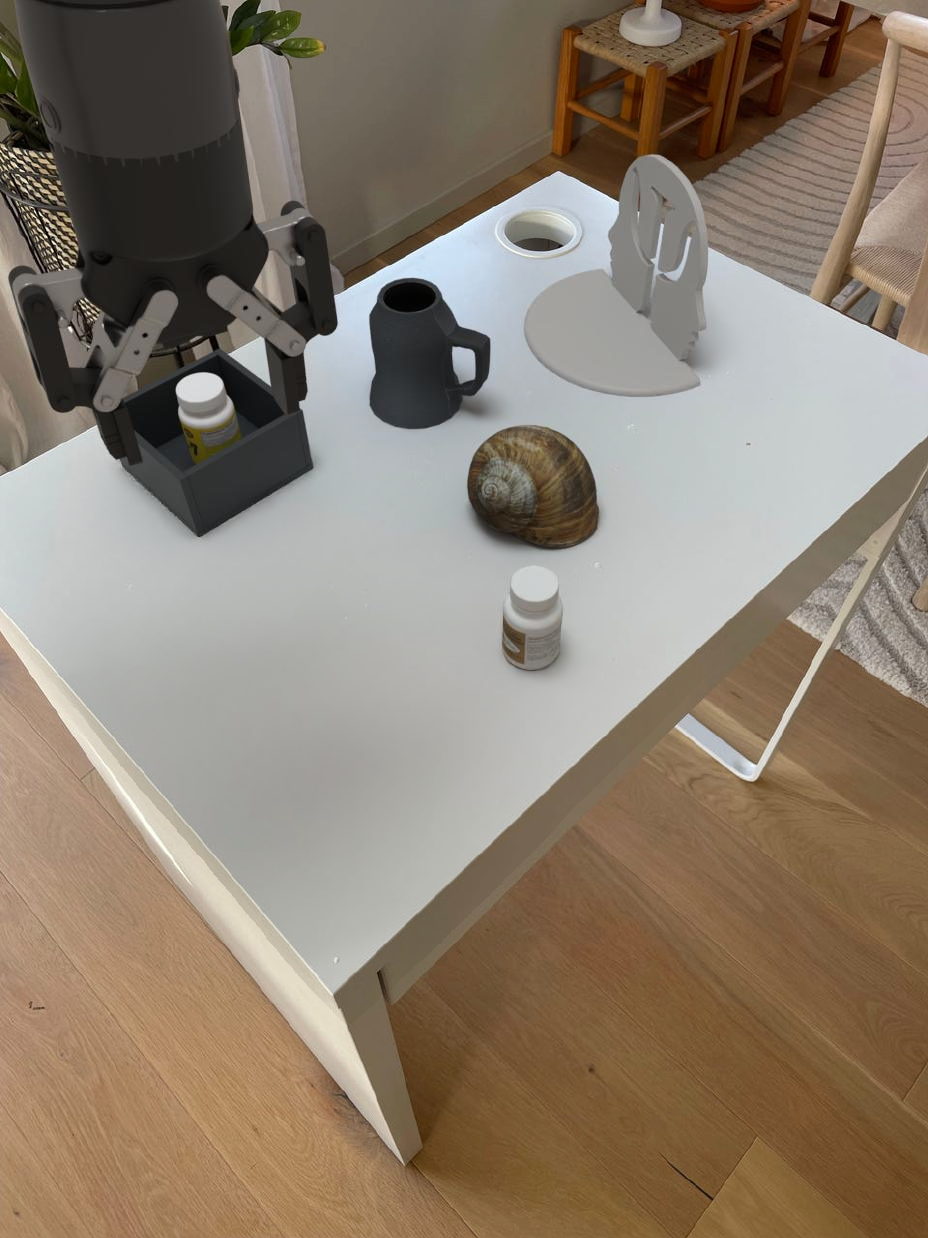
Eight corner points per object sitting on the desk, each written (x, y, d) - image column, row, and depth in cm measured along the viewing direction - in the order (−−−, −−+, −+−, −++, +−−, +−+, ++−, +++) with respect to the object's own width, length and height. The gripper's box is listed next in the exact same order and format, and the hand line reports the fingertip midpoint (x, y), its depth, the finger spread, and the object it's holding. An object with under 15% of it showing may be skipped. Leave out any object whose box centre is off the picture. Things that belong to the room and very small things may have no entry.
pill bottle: (494, 634, 74) (495, 568, 68) (547, 620, 75) (552, 554, 69) (512, 678, 72) (515, 613, 66) (567, 663, 73) (575, 598, 67)
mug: (352, 414, 91) (338, 311, 82) (394, 360, 96) (386, 257, 88) (467, 446, 88) (466, 343, 79) (504, 389, 93) (507, 286, 84)
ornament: (703, 385, 93) (740, 223, 80) (581, 419, 90) (598, 256, 77) (601, 270, 106) (619, 114, 93) (491, 296, 103) (493, 139, 90)
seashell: (448, 529, 82) (446, 458, 75) (496, 462, 87) (497, 391, 80) (570, 573, 78) (578, 503, 72) (612, 501, 83) (623, 429, 77)
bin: (199, 537, 81) (179, 480, 76) (122, 466, 87) (99, 409, 82) (313, 467, 87) (303, 409, 81) (234, 405, 92) (219, 347, 87)
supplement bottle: (189, 451, 87) (166, 376, 81) (240, 438, 88) (221, 363, 82) (200, 485, 84) (176, 410, 78) (252, 471, 86) (233, 396, 79)
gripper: (272, 41, 42) (305, 354, 54) (-71, 101, 37) (53, 430, 49) (347, 110, 38) (364, 430, 50) (-26, 186, 33) (96, 520, 46)
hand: (210, 430), depth 50 cm, fingers open, 8 cm apart
